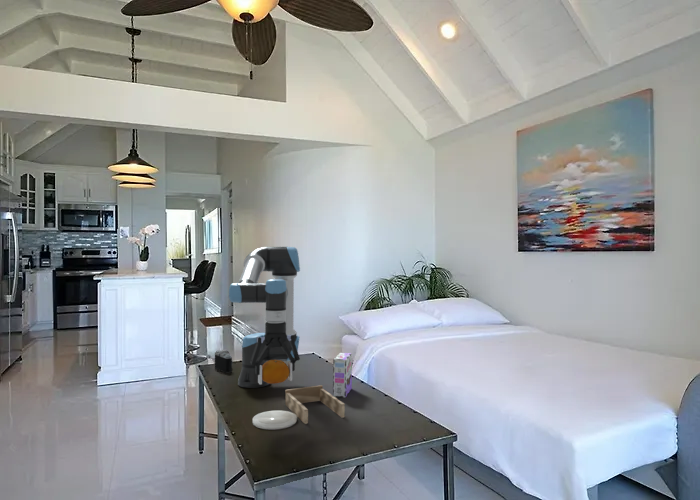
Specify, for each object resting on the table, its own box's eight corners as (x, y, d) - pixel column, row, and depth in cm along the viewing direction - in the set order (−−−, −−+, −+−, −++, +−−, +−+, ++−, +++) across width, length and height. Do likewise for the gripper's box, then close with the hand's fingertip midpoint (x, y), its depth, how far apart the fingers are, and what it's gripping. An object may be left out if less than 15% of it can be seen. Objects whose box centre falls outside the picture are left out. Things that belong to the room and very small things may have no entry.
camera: (238, 370, 239) (238, 351, 239) (226, 373, 235) (226, 353, 235) (224, 365, 250) (225, 347, 250) (213, 367, 246) (213, 349, 246)
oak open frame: (285, 404, 187) (285, 389, 187) (321, 399, 193) (321, 385, 194) (304, 423, 166) (304, 407, 166) (344, 417, 173) (344, 401, 173)
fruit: (284, 387, 163) (284, 364, 163) (256, 385, 165) (256, 363, 165) (292, 379, 173) (292, 358, 173) (265, 377, 175) (265, 356, 175)
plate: (248, 417, 172) (248, 413, 172) (289, 411, 179) (289, 407, 179) (258, 432, 157) (258, 428, 157) (302, 425, 164) (302, 421, 164)
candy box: (345, 398, 196) (346, 359, 196) (332, 397, 197) (332, 358, 197) (352, 388, 209) (352, 352, 209) (339, 387, 210) (339, 352, 210)
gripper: (246, 324, 160) (246, 388, 160) (308, 321, 170) (308, 380, 170) (241, 322, 167) (241, 382, 167) (302, 318, 177) (301, 375, 177)
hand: (275, 381), depth 168 cm, fingers closed on fruit, 11 cm apart
